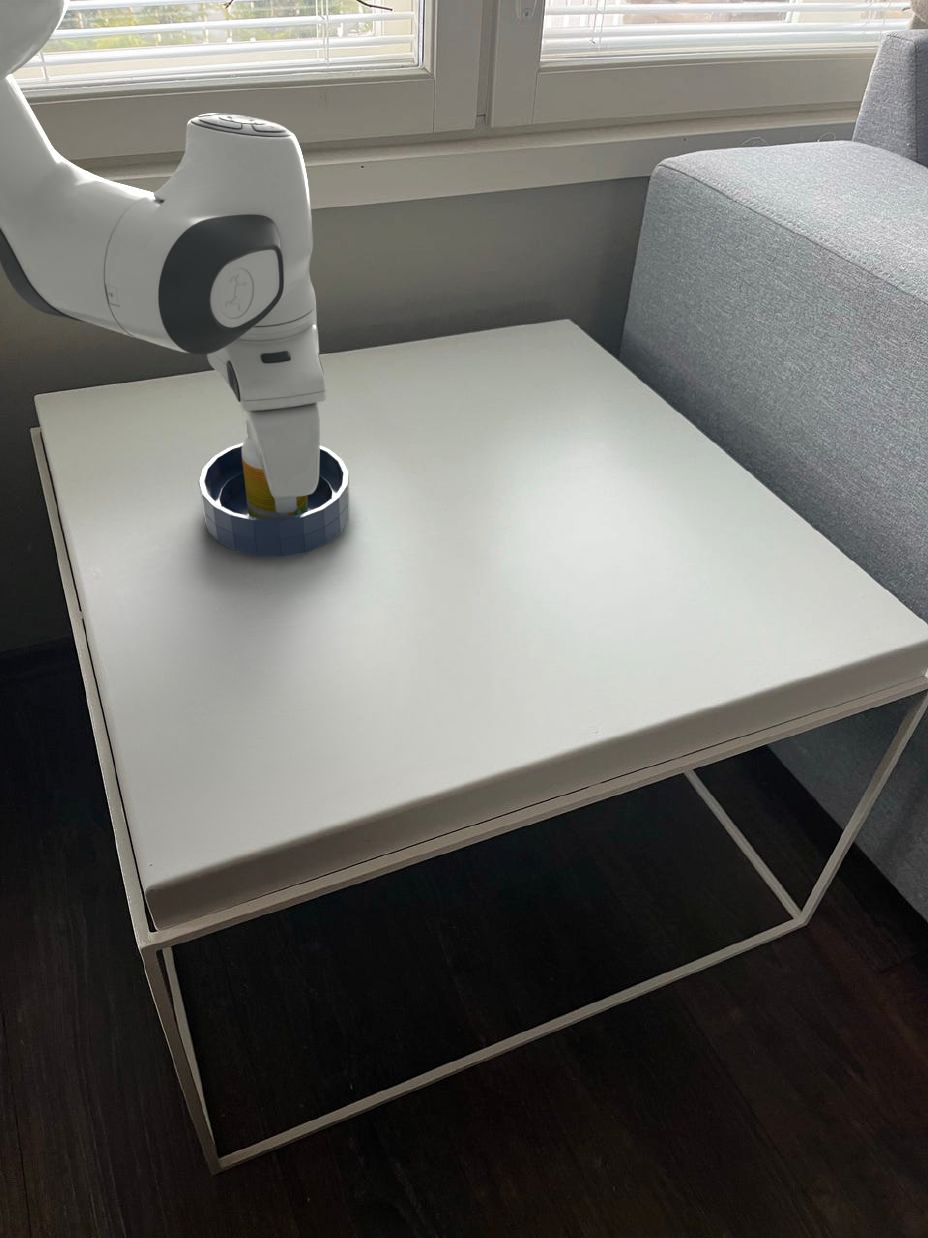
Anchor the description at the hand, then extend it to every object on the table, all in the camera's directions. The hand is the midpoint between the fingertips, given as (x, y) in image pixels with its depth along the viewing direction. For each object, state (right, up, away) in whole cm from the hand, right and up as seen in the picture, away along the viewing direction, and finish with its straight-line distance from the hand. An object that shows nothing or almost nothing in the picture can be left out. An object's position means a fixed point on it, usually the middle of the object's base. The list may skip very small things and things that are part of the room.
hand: (275, 481), depth 86 cm
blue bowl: (0, -3, +3) cm, 4 cm away
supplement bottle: (0, -3, +2) cm, 4 cm away
